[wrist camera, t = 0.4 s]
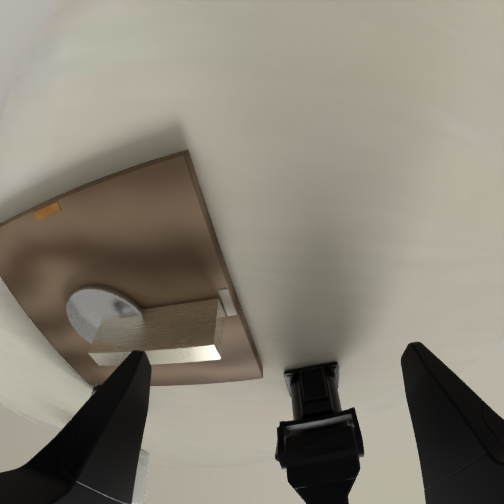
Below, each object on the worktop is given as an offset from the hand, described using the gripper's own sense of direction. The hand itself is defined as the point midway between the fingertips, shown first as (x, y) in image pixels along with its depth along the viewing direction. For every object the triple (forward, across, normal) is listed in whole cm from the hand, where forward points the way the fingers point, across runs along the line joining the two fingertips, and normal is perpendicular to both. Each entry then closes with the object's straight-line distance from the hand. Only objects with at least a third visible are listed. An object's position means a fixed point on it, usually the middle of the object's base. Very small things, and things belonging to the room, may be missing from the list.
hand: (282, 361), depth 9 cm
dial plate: (+14, +15, +12) cm, 23 cm away
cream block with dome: (+12, +11, +11) cm, 20 cm away
